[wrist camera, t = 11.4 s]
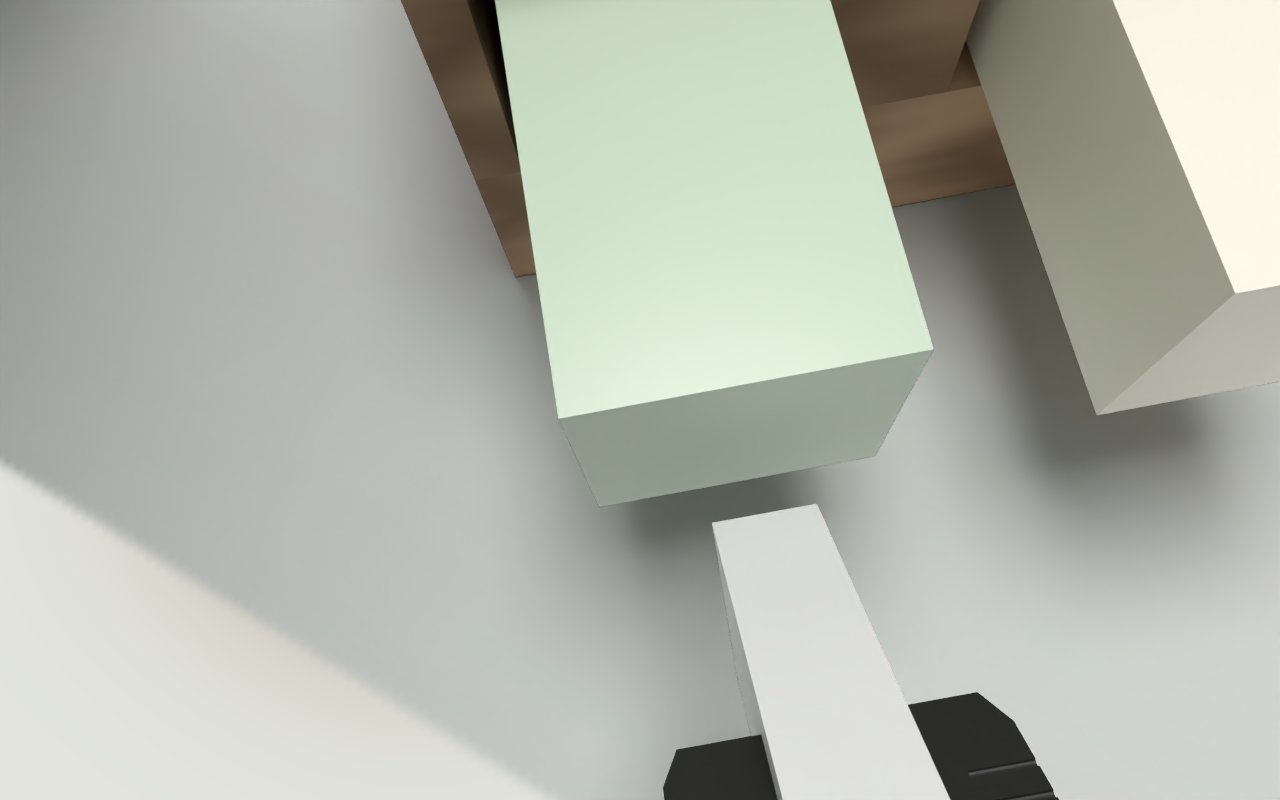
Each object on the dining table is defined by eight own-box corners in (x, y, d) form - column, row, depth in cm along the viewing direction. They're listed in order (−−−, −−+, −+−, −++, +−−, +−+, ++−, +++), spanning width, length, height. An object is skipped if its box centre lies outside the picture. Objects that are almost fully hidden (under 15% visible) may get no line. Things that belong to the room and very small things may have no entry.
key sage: (599, 507, 18) (558, 419, 13) (532, 92, 21) (480, -99, 16) (874, 456, 18) (933, 349, 13) (767, 48, 21) (783, -157, 16)
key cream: (1096, 415, 18) (1235, 293, 13) (956, 13, 21) (1028, -203, 16) (1374, 363, 18) (1613, 222, 13) (1193, -31, 21) (1334, -261, 16)
